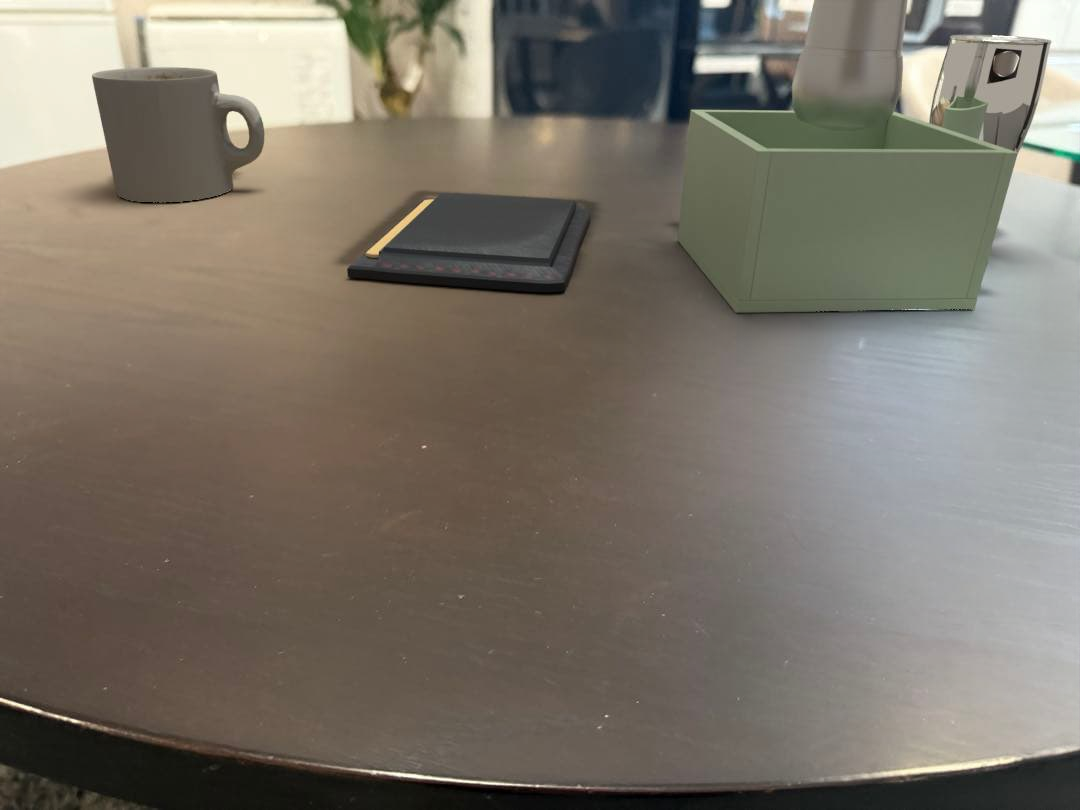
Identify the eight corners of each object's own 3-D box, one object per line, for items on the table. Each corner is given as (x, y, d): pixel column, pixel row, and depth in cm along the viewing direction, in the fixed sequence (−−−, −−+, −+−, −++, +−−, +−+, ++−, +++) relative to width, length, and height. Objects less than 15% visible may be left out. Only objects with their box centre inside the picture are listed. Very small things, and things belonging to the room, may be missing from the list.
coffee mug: (92, 199, 73) (65, 77, 68) (155, 175, 81) (134, 65, 77) (238, 208, 71) (220, 84, 66) (286, 183, 80) (272, 71, 75)
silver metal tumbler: (885, 239, 67) (929, 35, 60) (928, 226, 71) (974, 33, 64) (970, 261, 62) (1029, 43, 55) (1011, 245, 66) (1071, 39, 59)
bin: (868, 239, 67) (894, 111, 62) (974, 310, 53) (1018, 152, 49) (677, 240, 66) (690, 109, 61) (735, 313, 52) (758, 150, 47)
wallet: (564, 268, 53) (335, 250, 55) (563, 296, 54) (338, 278, 56) (599, 194, 70) (424, 184, 72) (598, 217, 71) (425, 205, 73)
